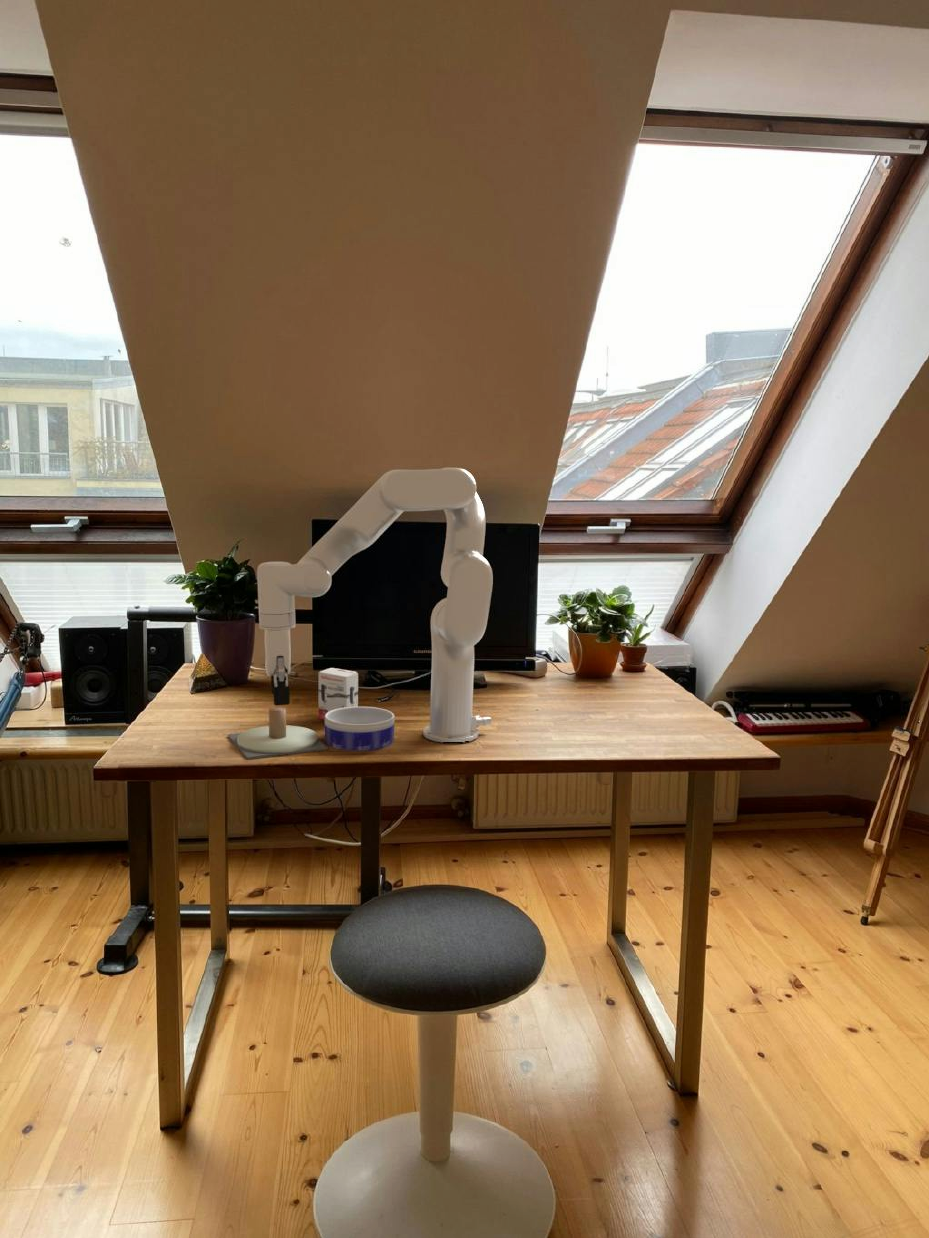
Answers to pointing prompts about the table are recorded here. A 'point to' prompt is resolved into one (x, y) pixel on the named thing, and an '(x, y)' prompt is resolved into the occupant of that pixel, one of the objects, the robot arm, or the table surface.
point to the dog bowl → (359, 728)
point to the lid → (277, 735)
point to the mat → (254, 755)
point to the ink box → (337, 690)
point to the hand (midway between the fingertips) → (280, 698)
